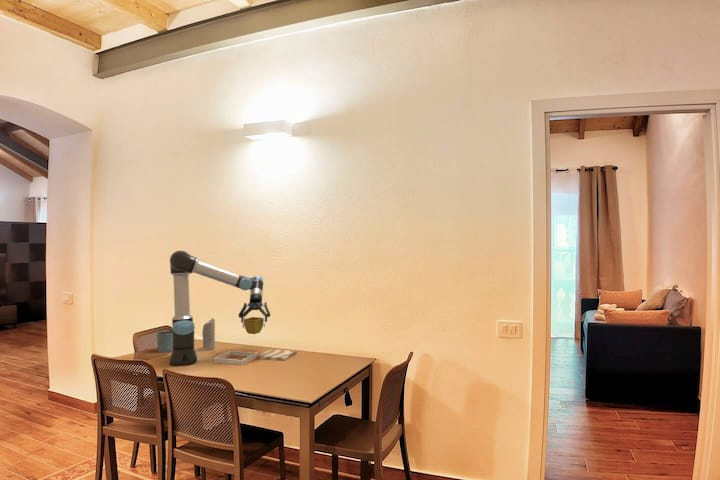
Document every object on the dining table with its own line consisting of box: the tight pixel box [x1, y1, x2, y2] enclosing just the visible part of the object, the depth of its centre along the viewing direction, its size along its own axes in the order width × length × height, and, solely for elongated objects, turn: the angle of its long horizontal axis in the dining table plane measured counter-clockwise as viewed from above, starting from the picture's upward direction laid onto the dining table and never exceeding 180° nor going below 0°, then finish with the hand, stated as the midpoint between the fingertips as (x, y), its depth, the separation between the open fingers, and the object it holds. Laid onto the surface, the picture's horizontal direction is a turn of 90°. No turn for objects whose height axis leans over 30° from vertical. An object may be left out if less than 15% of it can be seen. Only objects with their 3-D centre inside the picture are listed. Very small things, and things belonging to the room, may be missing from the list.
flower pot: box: [244, 316, 264, 335], centre depth 267 cm, size 9×9×9 cm
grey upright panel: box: [194, 317, 216, 352], centre depth 289 cm, size 7×14×20 cm, turn 107°
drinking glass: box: [156, 330, 173, 353], centre depth 286 cm, size 10×10×12 cm
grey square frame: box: [212, 350, 259, 366], centre depth 264 cm, size 19×19×2 cm
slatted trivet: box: [256, 348, 298, 361], centre depth 272 cm, size 18×18×2 cm
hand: (253, 326), depth 265 cm, fingers closed on flower pot, 11 cm apart
